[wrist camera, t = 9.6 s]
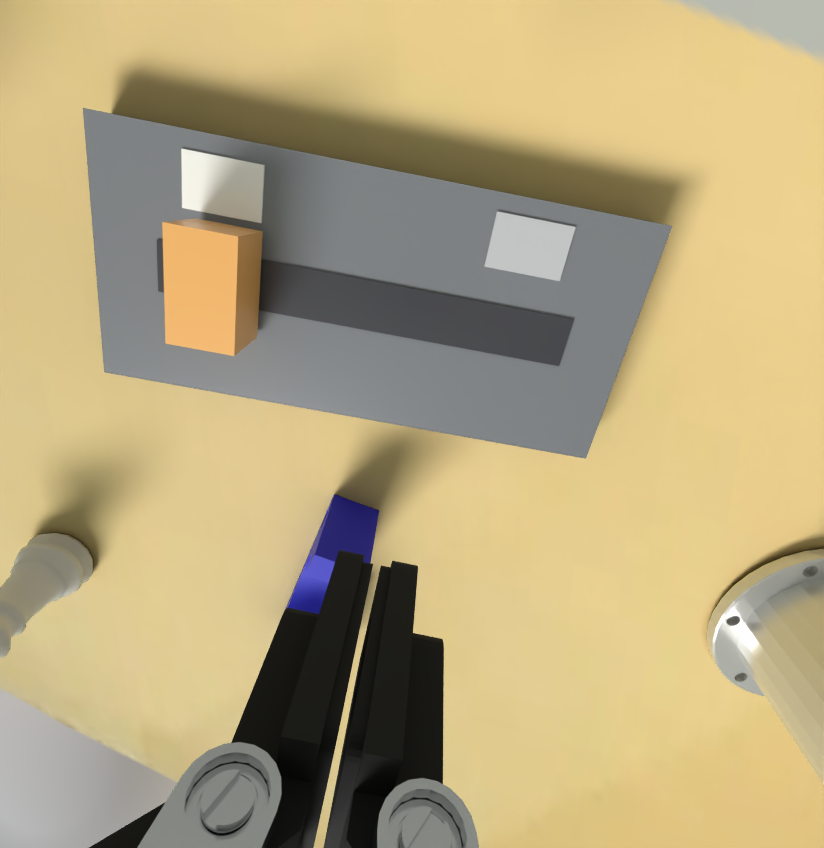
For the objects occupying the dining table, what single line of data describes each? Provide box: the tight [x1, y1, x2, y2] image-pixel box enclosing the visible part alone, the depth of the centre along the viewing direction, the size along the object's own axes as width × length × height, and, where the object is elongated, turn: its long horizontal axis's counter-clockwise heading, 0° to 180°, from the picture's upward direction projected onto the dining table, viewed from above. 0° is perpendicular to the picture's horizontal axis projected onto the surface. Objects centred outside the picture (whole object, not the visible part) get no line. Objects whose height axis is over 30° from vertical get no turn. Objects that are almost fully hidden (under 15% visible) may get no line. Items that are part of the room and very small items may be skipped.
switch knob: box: [162, 218, 263, 356], centre depth 22 cm, size 3×5×3 cm, turn 170°
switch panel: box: [83, 108, 672, 458], centre depth 25 cm, size 26×12×2 cm, turn 80°
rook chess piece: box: [0, 533, 93, 658], centre depth 31 cm, size 4×4×8 cm
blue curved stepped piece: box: [285, 494, 379, 614], centre depth 32 cm, size 12×4×6 cm, turn 157°
